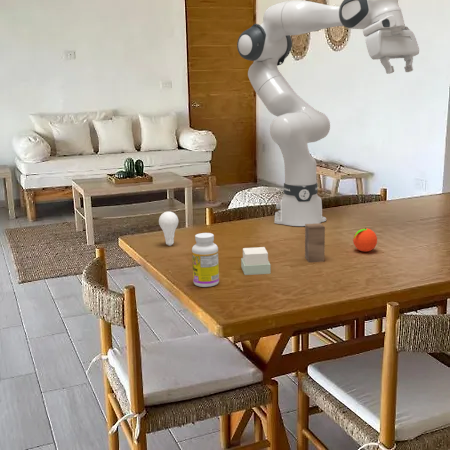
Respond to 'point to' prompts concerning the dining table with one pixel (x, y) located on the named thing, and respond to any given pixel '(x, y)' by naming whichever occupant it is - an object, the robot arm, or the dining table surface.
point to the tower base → (255, 268)
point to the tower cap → (255, 256)
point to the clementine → (365, 240)
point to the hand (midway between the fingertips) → (400, 72)
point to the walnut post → (314, 242)
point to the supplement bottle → (205, 261)
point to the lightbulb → (168, 226)
